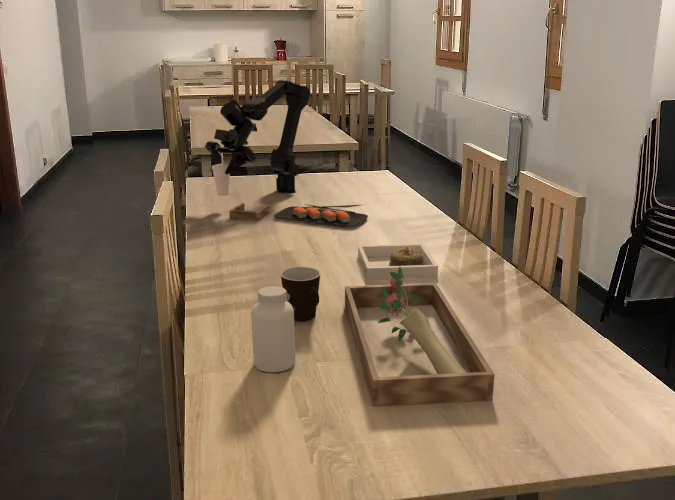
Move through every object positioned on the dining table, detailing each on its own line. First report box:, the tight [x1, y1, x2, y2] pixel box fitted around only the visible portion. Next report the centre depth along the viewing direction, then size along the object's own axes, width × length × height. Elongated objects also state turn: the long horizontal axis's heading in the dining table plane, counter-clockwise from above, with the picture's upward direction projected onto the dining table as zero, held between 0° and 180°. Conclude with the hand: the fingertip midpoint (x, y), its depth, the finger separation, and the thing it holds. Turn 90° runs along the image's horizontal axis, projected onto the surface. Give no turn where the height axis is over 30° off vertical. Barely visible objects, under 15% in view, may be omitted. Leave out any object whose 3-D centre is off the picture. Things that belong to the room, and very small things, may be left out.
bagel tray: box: [357, 243, 439, 281], centre depth 187 cm, size 18×18×3 cm
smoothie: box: [212, 153, 231, 197], centre depth 236 cm, size 6×6×14 cm
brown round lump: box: [388, 247, 426, 266], centre depth 188 cm, size 10×10×5 cm
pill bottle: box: [250, 285, 296, 373], centre depth 134 cm, size 8×8×15 cm
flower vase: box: [377, 267, 468, 374], centre depth 140 cm, size 12×12×35 cm
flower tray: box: [344, 282, 495, 407], centre depth 142 cm, size 21×43×5 cm, turn 6°
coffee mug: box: [280, 266, 321, 323], centre depth 154 cm, size 12×9×10 cm
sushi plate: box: [273, 203, 369, 228], centre depth 236 cm, size 29×30×4 cm
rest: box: [228, 202, 271, 222], centre depth 232 cm, size 10×10×3 cm
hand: (218, 172), depth 234 cm, fingers closed on smoothie, 6 cm apart
